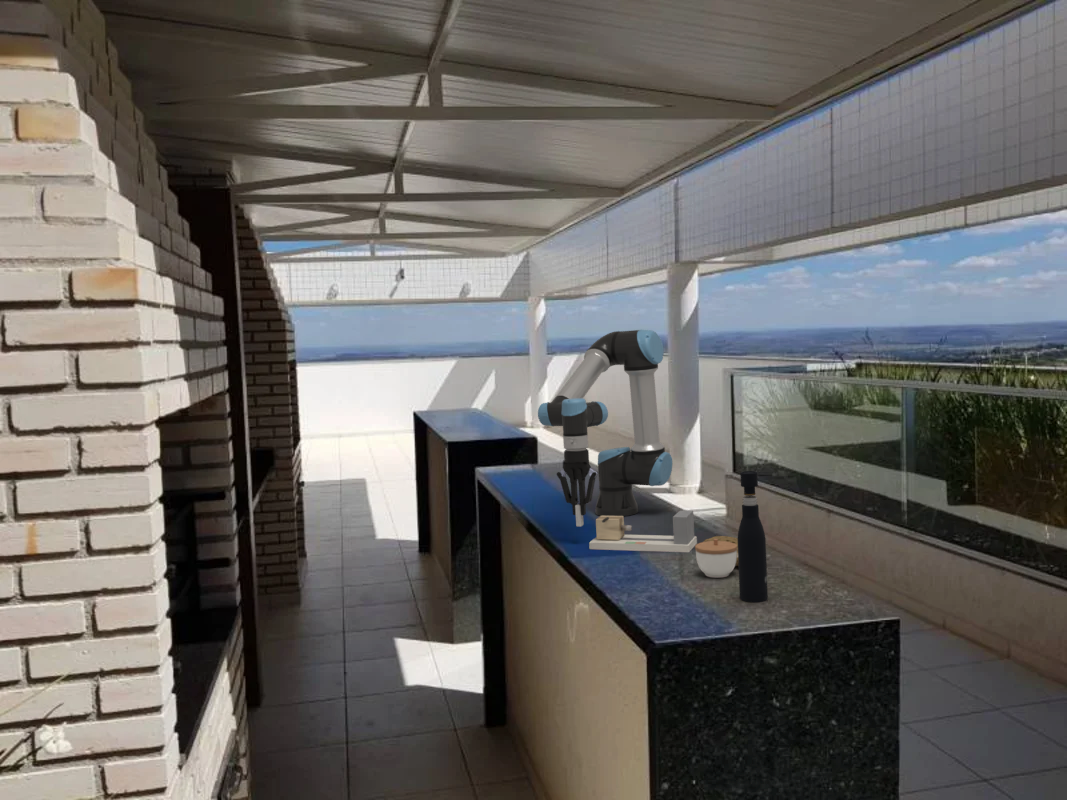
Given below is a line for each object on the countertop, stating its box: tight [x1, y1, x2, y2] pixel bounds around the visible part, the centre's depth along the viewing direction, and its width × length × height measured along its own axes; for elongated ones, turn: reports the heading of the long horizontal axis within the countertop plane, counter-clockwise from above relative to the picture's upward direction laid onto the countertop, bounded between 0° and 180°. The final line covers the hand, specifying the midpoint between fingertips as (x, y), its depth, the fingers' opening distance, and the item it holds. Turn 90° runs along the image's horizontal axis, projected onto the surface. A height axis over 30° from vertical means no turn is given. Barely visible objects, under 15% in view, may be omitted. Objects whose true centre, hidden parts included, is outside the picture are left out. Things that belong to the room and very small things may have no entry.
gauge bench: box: [588, 510, 698, 553], centre depth 278 cm, size 12×30×10 cm, turn 69°
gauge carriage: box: [595, 515, 633, 540], centre depth 279 cm, size 10×10×7 cm
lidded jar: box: [694, 539, 737, 579], centre depth 241 cm, size 11×11×9 cm
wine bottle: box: [736, 470, 769, 603], centre depth 218 cm, size 6×6×30 cm
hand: (579, 525), depth 285 cm, fingers closed
